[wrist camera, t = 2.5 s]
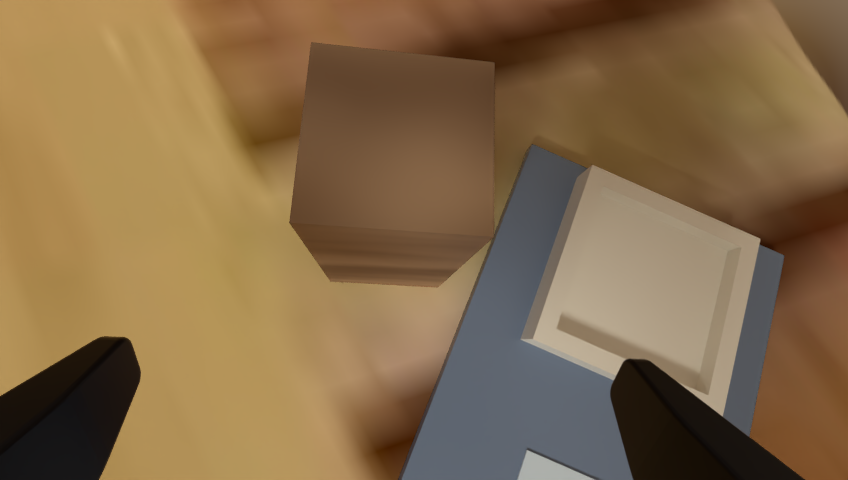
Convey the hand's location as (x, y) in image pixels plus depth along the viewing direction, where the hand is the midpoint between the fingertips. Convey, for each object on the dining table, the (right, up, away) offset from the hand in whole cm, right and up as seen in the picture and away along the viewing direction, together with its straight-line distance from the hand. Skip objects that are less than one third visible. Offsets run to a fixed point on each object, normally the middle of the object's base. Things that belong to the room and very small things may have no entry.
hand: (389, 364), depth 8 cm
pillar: (-1, +3, +13) cm, 13 cm away
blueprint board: (+8, -6, +12) cm, 15 cm away
